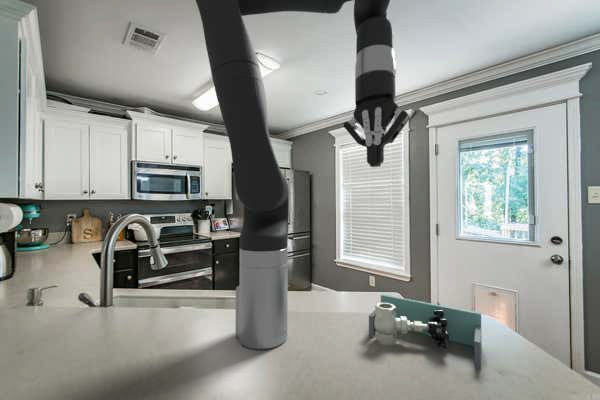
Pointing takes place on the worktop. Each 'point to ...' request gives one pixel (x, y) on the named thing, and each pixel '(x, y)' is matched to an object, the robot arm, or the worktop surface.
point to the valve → (407, 325)
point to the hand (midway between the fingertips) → (375, 166)
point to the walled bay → (459, 321)
